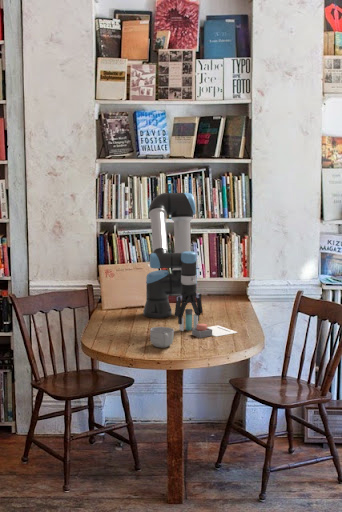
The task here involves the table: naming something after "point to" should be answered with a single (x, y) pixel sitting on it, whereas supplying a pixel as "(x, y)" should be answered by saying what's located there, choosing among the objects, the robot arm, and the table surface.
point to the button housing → (201, 333)
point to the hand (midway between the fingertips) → (188, 329)
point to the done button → (201, 327)
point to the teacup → (161, 336)
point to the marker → (188, 319)
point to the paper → (220, 331)
